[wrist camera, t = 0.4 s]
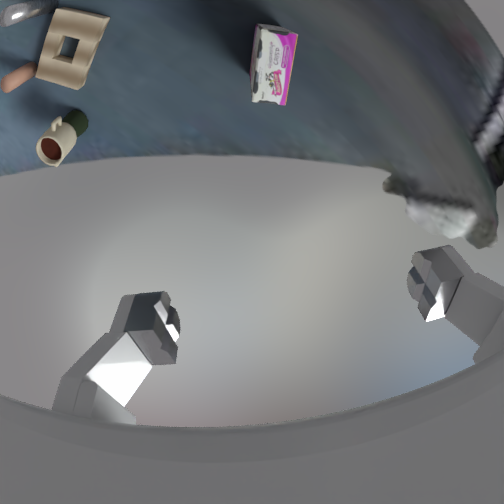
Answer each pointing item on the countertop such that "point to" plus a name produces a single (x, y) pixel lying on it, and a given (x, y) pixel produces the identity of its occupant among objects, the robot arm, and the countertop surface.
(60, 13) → the hole plate
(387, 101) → the countertop surface
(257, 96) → the candy bar box
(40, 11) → the steel pin
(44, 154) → the character mug
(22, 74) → the terracotta pin
